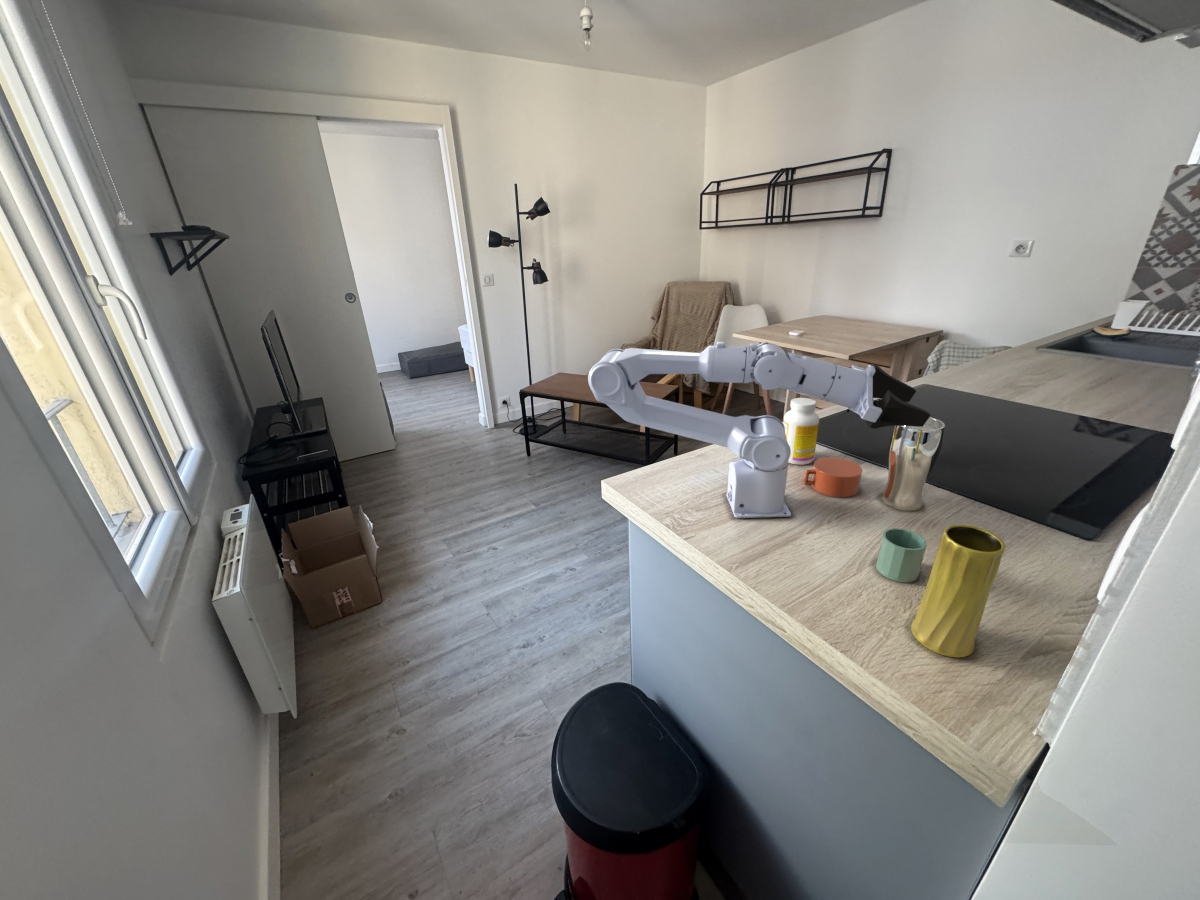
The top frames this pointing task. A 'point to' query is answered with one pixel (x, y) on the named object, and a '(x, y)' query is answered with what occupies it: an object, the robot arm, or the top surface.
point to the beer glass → (911, 463)
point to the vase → (958, 590)
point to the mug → (834, 477)
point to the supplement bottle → (801, 430)
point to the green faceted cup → (901, 554)
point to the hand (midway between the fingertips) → (918, 407)
